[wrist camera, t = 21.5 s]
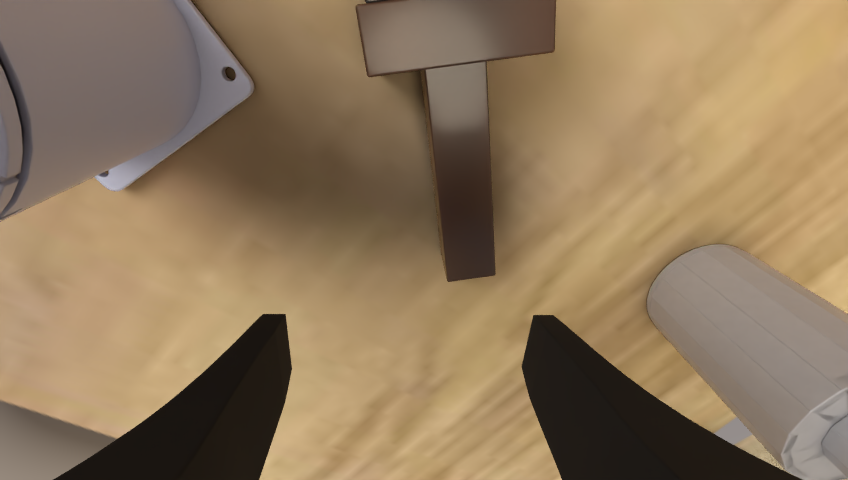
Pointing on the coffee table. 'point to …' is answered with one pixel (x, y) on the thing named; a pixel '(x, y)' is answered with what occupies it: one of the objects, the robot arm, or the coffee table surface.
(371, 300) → the coffee table surface
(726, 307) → the silver bottle
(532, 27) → the brush
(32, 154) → the robot arm
